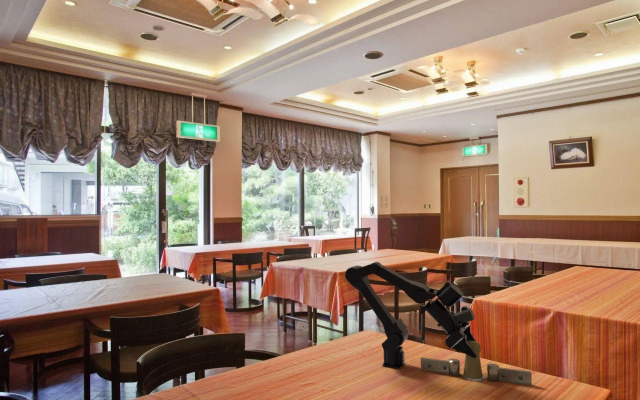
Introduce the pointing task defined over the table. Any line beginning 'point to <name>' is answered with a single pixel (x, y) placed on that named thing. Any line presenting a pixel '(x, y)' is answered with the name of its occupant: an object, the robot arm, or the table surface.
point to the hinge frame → (493, 375)
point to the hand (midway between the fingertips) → (477, 352)
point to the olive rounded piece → (473, 362)
